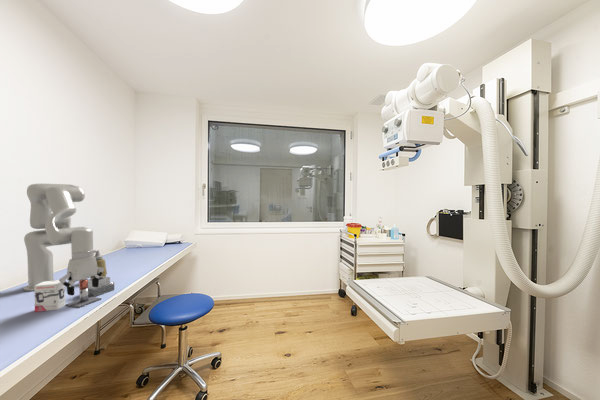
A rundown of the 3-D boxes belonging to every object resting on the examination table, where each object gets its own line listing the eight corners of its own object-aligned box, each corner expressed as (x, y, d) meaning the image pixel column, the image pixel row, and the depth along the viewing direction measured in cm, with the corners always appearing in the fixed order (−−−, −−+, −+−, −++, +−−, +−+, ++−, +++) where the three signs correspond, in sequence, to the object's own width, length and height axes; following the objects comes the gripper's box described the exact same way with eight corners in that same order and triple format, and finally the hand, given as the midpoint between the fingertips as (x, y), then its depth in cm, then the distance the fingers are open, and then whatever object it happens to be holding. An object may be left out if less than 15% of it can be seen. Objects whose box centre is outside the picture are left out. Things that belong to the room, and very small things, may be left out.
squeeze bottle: (109, 279, 142) (108, 249, 141) (92, 283, 135) (91, 252, 135) (104, 276, 146) (103, 248, 146) (87, 281, 139) (86, 251, 139)
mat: (66, 305, 108) (65, 304, 108) (88, 297, 116) (88, 296, 116) (79, 308, 105) (79, 306, 105) (101, 299, 114) (101, 298, 114)
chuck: (79, 295, 119) (79, 281, 119) (106, 285, 131) (106, 273, 131) (93, 297, 116) (92, 283, 116) (119, 287, 128) (119, 274, 128)
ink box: (33, 312, 102) (33, 285, 101) (43, 307, 106) (42, 281, 106) (57, 309, 103) (56, 283, 103) (66, 304, 108) (65, 279, 108)
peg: (78, 302, 110) (77, 281, 109) (85, 299, 112) (85, 278, 112) (82, 302, 109) (81, 281, 109) (90, 300, 112) (89, 279, 111)
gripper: (97, 250, 120) (98, 283, 120) (53, 259, 103) (54, 297, 103) (108, 251, 117) (109, 284, 118) (65, 260, 101) (66, 299, 101)
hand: (83, 290), depth 111 cm, fingers open, 9 cm apart
